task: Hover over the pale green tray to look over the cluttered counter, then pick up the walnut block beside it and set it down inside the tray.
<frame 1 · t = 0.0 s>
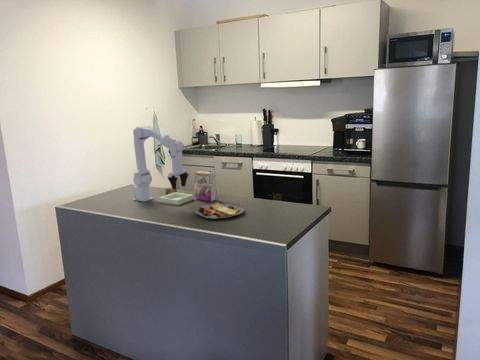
hand: (178, 187, 221), 10 cm above the countertop, tool pointing down, fingers open, 7 cm apart
terracotta cup: (200, 195, 243), on the countertop
food plate: (219, 214, 206), on the countertop
walnut block: (171, 195, 246), on the countertop
candy bar box: (205, 200, 233), on the countertop
pale green tray: (176, 201, 233), on the countertop
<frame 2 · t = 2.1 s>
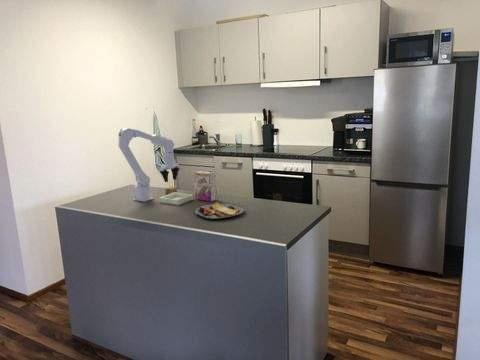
hand: (170, 180, 244), 9 cm above the countertop, tool pointing down, fingers open, 7 cm apart
nothing on the countertop moved.
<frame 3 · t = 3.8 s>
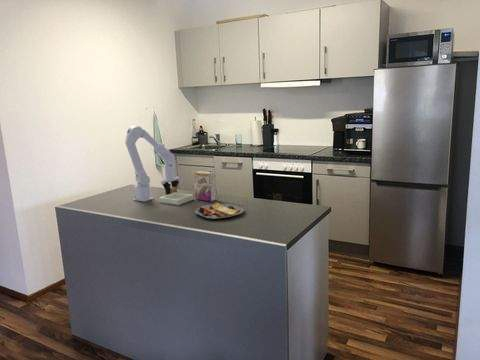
hand: (171, 193, 246), 1 cm above the countertop, tool pointing down, fingers closed on walnut block, 5 cm apart
walnut block: (171, 195, 246), on the countertop, touching gripper
everything else where it was.
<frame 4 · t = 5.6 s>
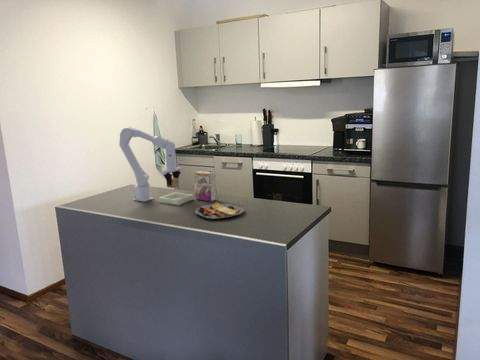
hand: (172, 184, 239), 8 cm above the countertop, tool pointing down, fingers closed on walnut block, 5 cm apart
walnut block: (172, 186, 239), point 7 cm above the countertop, touching gripper
everything else where it was.
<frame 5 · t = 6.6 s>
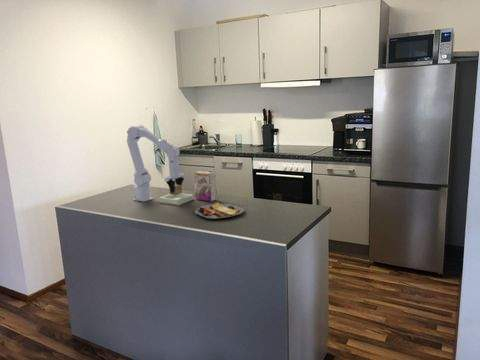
hand: (175, 191, 231), 6 cm above the countertop, tool pointing down, fingers closed on walnut block, 5 cm apart
walnut block: (176, 193, 232), point 4 cm above the countertop, touching gripper
everything else where it was.
when the fingers open (4 cm above the countertop, at t = 7.4 s): walnut block drops 2 cm, resting on pale green tray.
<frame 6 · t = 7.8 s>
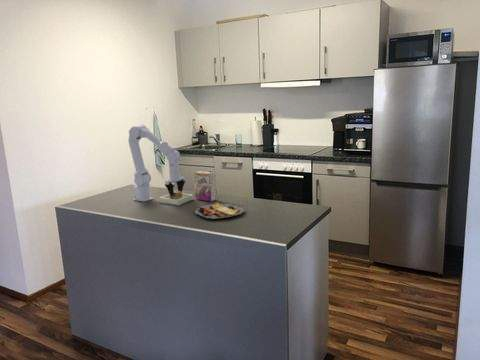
hand: (176, 194, 232), 4 cm above the countertop, tool pointing down, fingers open, 7 cm apart
walnut block: (176, 200, 232), point 1 cm above the countertop, touching pale green tray
everything else where it was.
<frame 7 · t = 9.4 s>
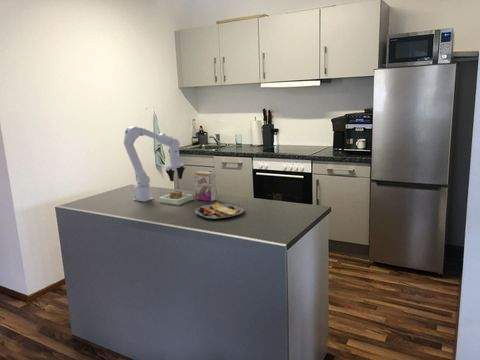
hand: (176, 179, 246), 9 cm above the countertop, tool pointing down, fingers open, 7 cm apart
nothing on the countertop moved.
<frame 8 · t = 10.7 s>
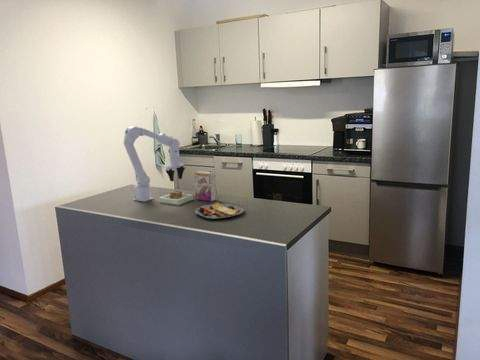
hand: (176, 179, 246), 9 cm above the countertop, tool pointing down, fingers open, 7 cm apart
nothing on the countertop moved.
at the end: walnut block inside the target area on the pale green tray (0.1 cm from its centre), point 0.6 cm above the pale green tray's base; the gripper is holding nothing; walnut block tilted 0° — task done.
